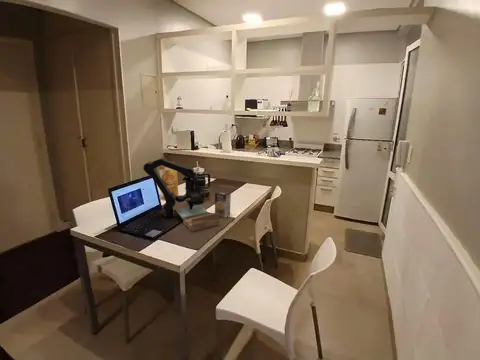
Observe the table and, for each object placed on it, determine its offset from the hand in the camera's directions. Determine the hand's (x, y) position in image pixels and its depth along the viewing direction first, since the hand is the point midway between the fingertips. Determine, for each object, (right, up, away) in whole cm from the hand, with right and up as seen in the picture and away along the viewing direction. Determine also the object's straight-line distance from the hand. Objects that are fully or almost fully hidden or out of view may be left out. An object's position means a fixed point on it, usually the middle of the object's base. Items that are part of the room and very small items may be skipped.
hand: (191, 209), depth 180 cm
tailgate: (+4, -4, -5) cm, 7 cm away
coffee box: (+21, -5, +5) cm, 22 cm away
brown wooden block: (+8, -8, -10) cm, 15 cm away
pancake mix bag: (-23, +5, +37) cm, 44 cm away
